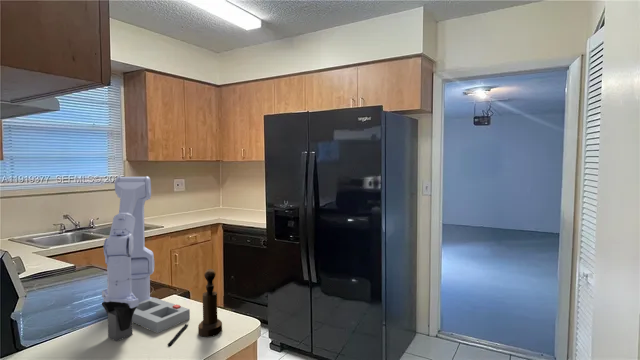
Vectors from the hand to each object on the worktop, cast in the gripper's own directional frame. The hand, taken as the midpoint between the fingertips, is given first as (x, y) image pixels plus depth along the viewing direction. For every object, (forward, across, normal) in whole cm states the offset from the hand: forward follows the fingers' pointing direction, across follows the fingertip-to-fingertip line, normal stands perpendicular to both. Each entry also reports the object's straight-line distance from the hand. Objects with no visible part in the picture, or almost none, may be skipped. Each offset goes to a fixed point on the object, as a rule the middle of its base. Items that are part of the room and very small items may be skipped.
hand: (120, 327), depth 99 cm
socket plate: (+2, -2, +12) cm, 12 cm away
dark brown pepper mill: (+3, +19, +15) cm, 24 cm away
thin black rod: (+3, +13, +9) cm, 16 cm away
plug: (+2, 0, 0) cm, 2 cm away
